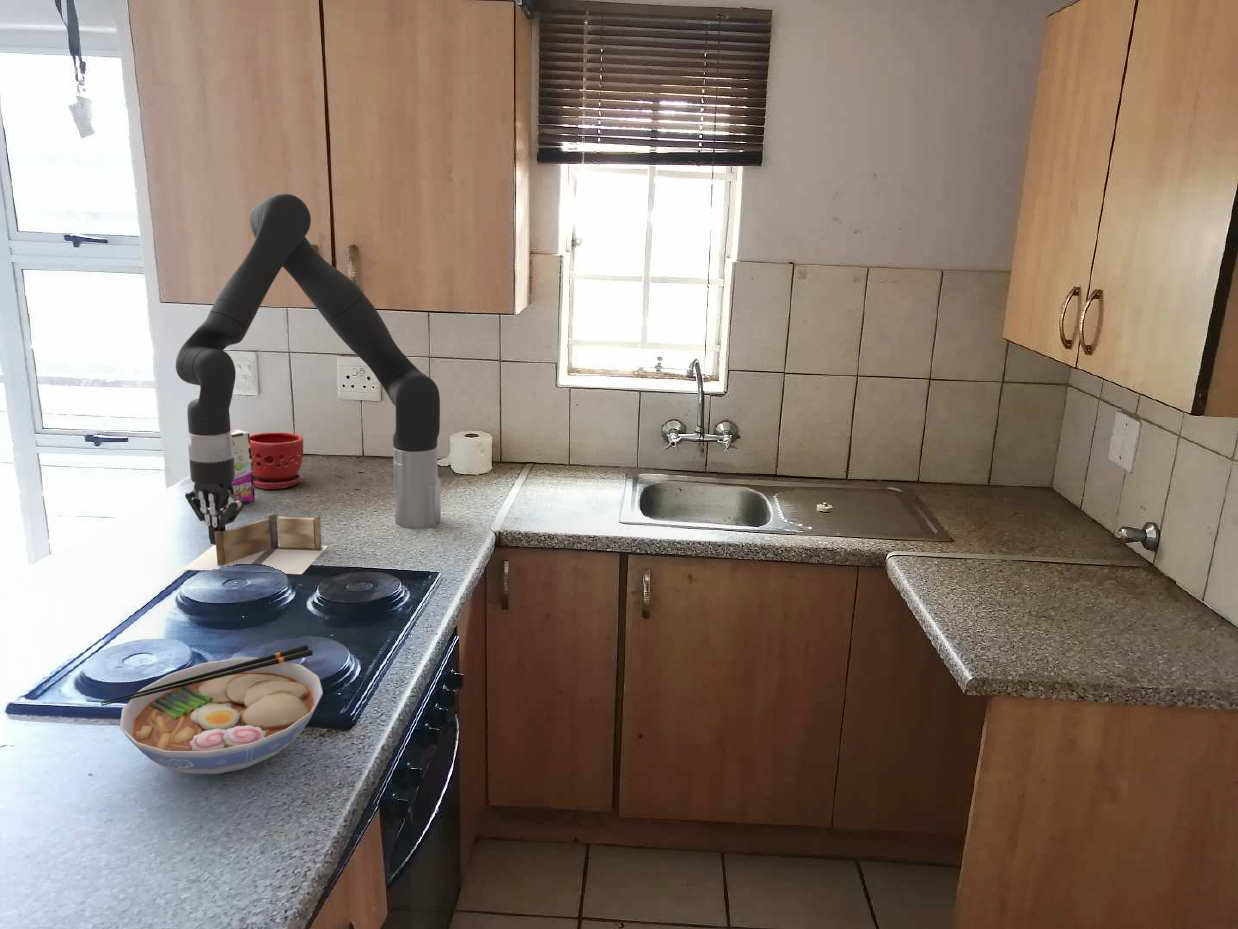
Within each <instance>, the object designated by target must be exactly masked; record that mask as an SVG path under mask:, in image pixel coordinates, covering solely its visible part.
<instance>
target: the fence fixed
mask: <svg viewBox="0 0 1238 929" xmlns="http://www.w3.org/2000/svg"><path fill="white" fill-rule="evenodd" d="M267 519H269V527H270V542H271V548H278V547H287V548H313V549H316V550H320V549H322V546H323V545H322V526H321V516H320V515H314V516H313V517H295V516H277V513H269V514H267ZM278 544H279V546H278Z"/></svg>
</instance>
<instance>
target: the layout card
mask: <svg viewBox="0 0 1238 929" xmlns="http://www.w3.org/2000/svg"><path fill="white" fill-rule="evenodd" d="M278 546H279V543H278ZM328 546H329V545H322V549H320V550H316V549H313V548H287V547H278V548H270V549H267V550H265V551H262V552H259V553H256V554H253V555H250V556H247V557H244V558H241V559H238V560H235V561H233V562H230V563H227V564H224V565H217V553H216V545H213V544H212V546H210V548H208V549H207V550H206V551H204V552H203V553H202V554H200V555H199V556H198V557H197V558H195V559H194V560H193V561H191V563H189V564H188V565H186V566H185V567H183V569H182V571H203V570H213V569H219V568H221V567H227V566H233V565H236V564H262V565H266V566H270V567H273V568H275V569H278V570H281V571H282V572H284V573H285V574H286V575H303V574H304V573H305V571H306V570H307V569H308V568H309V567H310V566H311V565H312V564H313V563H314V562H315V561H316V560H317V559H318V557H319V556H320V555H321V554H322V553H323V552H324V551H325V550H326V549H327V548H328ZM285 574H284V575H285Z"/></svg>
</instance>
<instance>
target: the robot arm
mask: <svg viewBox="0 0 1238 929" xmlns="http://www.w3.org/2000/svg"><path fill="white" fill-rule="evenodd" d="M248 224H249V228H250V231H251V233H252V235H253V237H254V238H255V239H254V241H253V244H252V245H251V247H250V249H249V250H248V253H247V254H246V255H245V258H244V259H243V260H242V261H241V263H240V265H239V266H238V267H237V269H236V270H235V271H234V273H232V275H231V276H230V278H229V279H228V281H227V282H226V283H225V284H224V286H223V288H222V289H221V290H220V292H219V294H218V295H217V297H216V300H215V301H214V303H213V305H212V307H211V309H210V310H209V313H208V315H207V317H206V319H205V320H204V321H203V322H202V323H201V324H200V325H199V327H197V328H196V329H195V330H194V332H193V333H192V334H191V335H190V337H188V339H186V341H185V342H184V344H183V345H182V347H181V348H180V350H179V351H178V354H177V356H176V358H175V370H176V371H175V372H176V373H177V376H178V378H180V379H181V381H184V382H185V383H187V384H191V385H193V386H194V385H195V386H199V387H200V388H199V389H200V390H199V396H198V398H195V399H193V400H191V401H190V402H189V403H188V405H187V411H186V412H187V413H186V414H187V425H188V427H187V429H188V442H187V444H188V446H187V448H188V460H189V461H188V462H189V471H190V472H189V473H190V480H191V482H192V483H194V484H193V489H192V490H191V491H189V492H187V493H185V495H184V497H185V499H186V501H187V503H188V504H189V506H190V508H191V509H192V511H193V512H194V514H195V515H196V517H197V519H198V521H200V522H204V523H205V525H206V526H208V528H207V529H208V530H207V531H208V538H209V542H210V543H209V544H211V545H212V546H213V545H216V541H215V532H216V531H222V532H223V531H226V525H229V524H232V523H233V522H234V521H235V520H236V518H237V517H238V516H239V514H240V513H241V511H242V509H243V508H244V506H245V504H246V503H245V502H244V501H243V500H238V499H237V498H236V497H235V496H234V489H233V487H232V481H233V479H234V478H235V468H234V452H233V441H232V436H231V430H232V429H231V416H230V406H231V404H232V403H231V402H232V399H233V393H234V389H235V388H234V387H235V384H236V383H235V382H236V376H237V373H236V365H235V363H234V360H233V359H232V356H231V355H230V354H229V353H227V352H226V351H225V349H226V348H227V347H230V346H232V345H237V344H239V343H241V342H242V341H243V339H244V338H245V336H246V335H247V333H248V330H249V329H250V326H251V325H252V323H253V320H254V319H255V316H256V315H257V313H258V311H259V308H260V307H261V305H262V303H263V302H264V299H265V297H266V295H267V293H268V292H269V290H270V288H271V286H272V284H273V282H274V281H275V279H276V277H277V275H278V274H279V272H280V271H281V269H282V268H283V269H284V270H285V271H286V273H288V274H289V275H290V277H291V278H292V279H293V280H294V282H296V284H297V285H298V286H299V288H300V289H301V291H302V292H303V293H304V294H305V296H306V297H307V298H308V299H309V301H310V302H311V303H312V304H313V305H314V306H315V309H316V310H318V312H319V313H320V314H321V316H322V317H323V318H324V320H325V321H326V322H327V323H328V325H329V326H330V327H331V328H332V330H333V331H334V332H335V334H336V335H337V336H338V337H339V338H340V339H341V340H342V341H343V343H344V344H346V345H347V347H349V349H350V350H351V351H352V352H353V353H354V354H355V355H357V356H358V357H359V359H361V360H362V361H363V362H364V363H365V365H367V367H368V368H369V369H370V370H371V372H372V373H373V375H374V376H375V377H376V379H377V381H378V382H379V383H380V384H381V386H382V388H383V390H384V391H385V393H386V394H387V396H388V398H389V399H390V401H391V403H392V404H393V406H394V407H395V429H394V430H395V431H394V433H393V435H392V449H393V450H392V451H393V452H392V453H393V488H394V490H393V492H394V517H395V518H394V519H395V520H394V521H395V524H396V526H398V527H400V528H404V529H411V530H412V529H413V530H414V529H415V530H416V529H417V530H418V529H427V528H430V529H435V528H437V526H438V524H439V523H440V521H441V519H442V517H441V516H442V515H441V514H442V513H441V507H442V506H441V478H439V473H438V471H439V470H438V469H439V468H438V464H439V463H438V438H439V435H440V427H441V425H440V424H441V422H440V421H441V398H440V391H439V388H438V386H437V384H436V382H435V380H433V379H432V378H431V377H429V376H427V375H426V374H425V373H423V372H422V371H421V370H420V369H419V368H417V366H415V364H413V363H412V361H410V359H409V358H408V357H407V356H406V355H405V354H404V352H402V351H401V349H400V348H399V347H398V346H397V344H396V342H395V340H394V339H393V337H392V335H391V333H390V331H389V329H388V327H387V326H386V325H387V324H386V323H385V322H384V319H383V318H382V316H381V315H380V313H379V312H378V311H377V309H376V307H375V306H374V304H373V303H372V302H371V301H370V300H369V298H368V297H367V295H366V294H365V293H364V291H363V290H362V289H361V288H360V287H359V286H358V285H357V284H356V283H355V282H354V281H353V280H352V279H350V278H349V277H348V276H346V275H345V273H342V272H341V270H338V269H337V268H336V267H335V266H333V265H332V264H330V263H329V262H328V261H327V260H325V259H324V258H323V257H322V256H321V255H320V254H319V253H318V251H317V250H316V249H315V248H314V246H312V244H311V243H310V241H309V240H308V239H307V237H306V236H307V235H308V234H309V233H308V232H309V231H310V228H311V224H312V218H311V213H310V211H309V207H308V206H307V204H306V203H305V202H304V201H303V200H302V199H301V198H300V197H298V196H296V195H293V194H291V193H278V194H274V195H271V196H270V197H268V198H266V199H264V200H262V201H261V202H259V203H257V204H256V205H254V207H253V208H252V209H251V210H250V212H249V216H248Z"/></svg>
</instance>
